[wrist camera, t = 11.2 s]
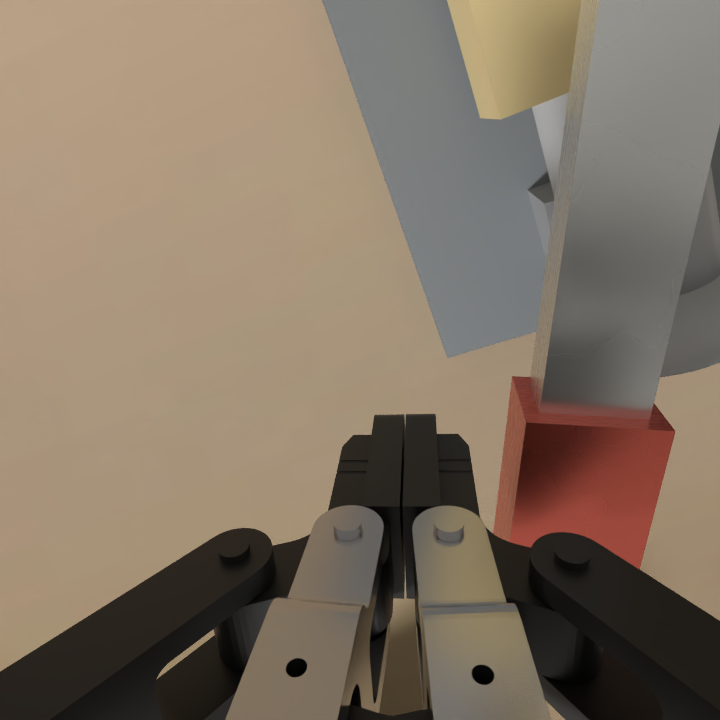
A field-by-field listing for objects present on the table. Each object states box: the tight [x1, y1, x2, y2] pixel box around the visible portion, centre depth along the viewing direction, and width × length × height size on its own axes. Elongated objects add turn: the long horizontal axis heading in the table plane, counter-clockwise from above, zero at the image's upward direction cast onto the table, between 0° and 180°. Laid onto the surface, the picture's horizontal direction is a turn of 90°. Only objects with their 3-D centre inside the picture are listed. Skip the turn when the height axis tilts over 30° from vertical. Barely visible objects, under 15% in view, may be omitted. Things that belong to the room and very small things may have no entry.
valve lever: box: [493, 0, 720, 569], centre depth 10 cm, size 16×3×2 cm, turn 0°
